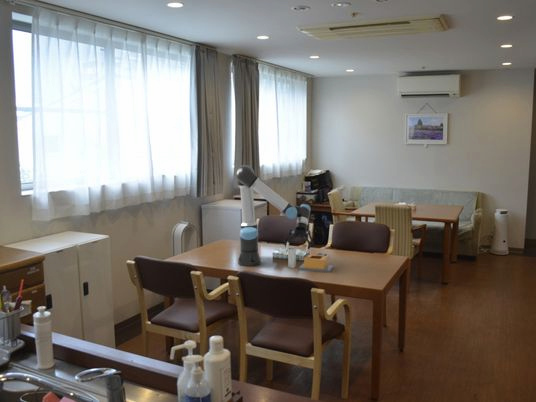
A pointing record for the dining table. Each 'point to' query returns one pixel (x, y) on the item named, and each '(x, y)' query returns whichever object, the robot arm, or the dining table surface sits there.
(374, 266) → the dining table surface
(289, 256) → the white cylinder
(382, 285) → the dining table surface
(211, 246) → the dining table surface
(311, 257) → the yellow and grey block
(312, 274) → the dining table surface
